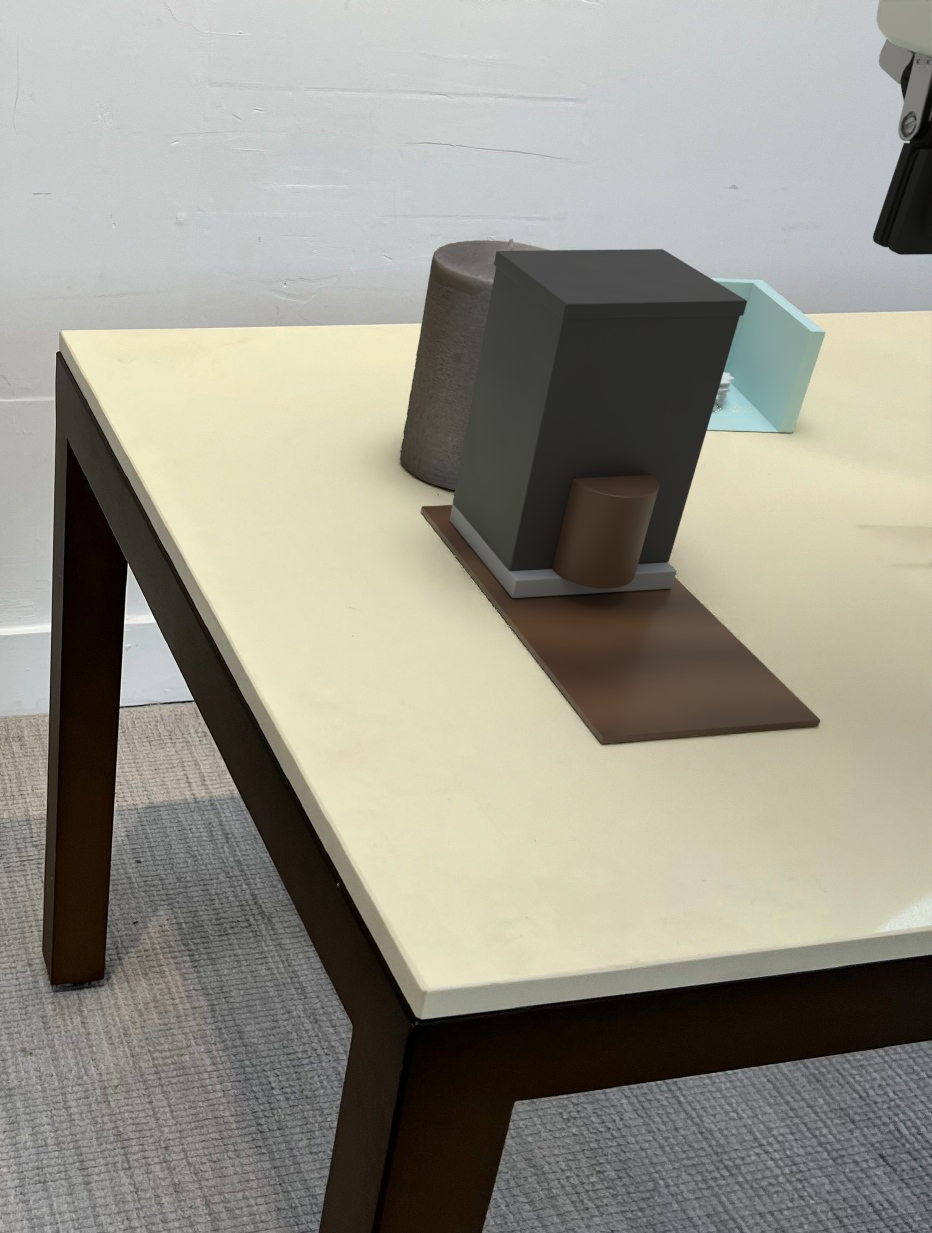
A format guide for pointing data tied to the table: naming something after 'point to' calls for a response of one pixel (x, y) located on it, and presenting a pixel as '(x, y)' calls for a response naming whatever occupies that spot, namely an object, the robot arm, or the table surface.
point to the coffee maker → (589, 417)
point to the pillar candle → (449, 357)
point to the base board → (639, 658)
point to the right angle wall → (766, 362)
